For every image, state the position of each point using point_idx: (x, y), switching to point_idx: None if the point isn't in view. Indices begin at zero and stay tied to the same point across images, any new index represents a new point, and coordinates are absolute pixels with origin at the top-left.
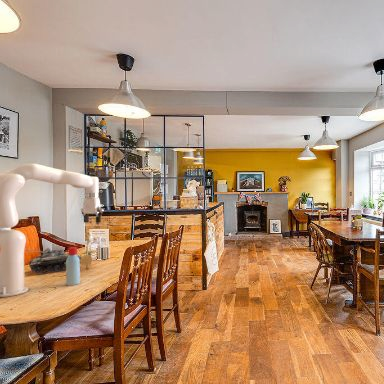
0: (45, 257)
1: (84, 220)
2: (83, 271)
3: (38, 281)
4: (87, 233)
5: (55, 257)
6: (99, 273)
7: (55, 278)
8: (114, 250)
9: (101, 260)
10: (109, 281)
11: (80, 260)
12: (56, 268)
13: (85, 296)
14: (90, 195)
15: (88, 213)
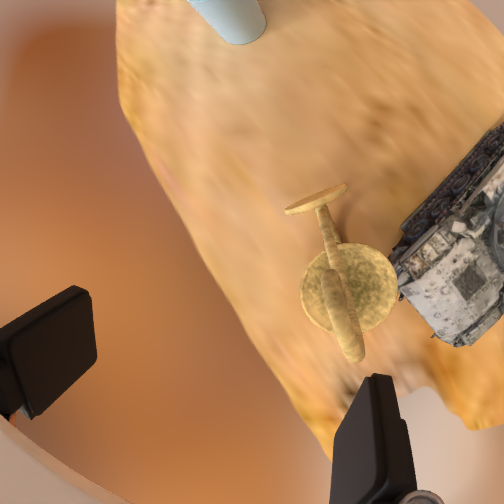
0: None
1: (379, 401)
2: None
3: (416, 41)
4: (322, 288)
5: (489, 181)
6: (224, 161)
7: (380, 76)
8: None
9: (356, 376)
10: (124, 78)
11: (344, 185)
12: (460, 181)
13: None
14: None
15: (101, 492)
